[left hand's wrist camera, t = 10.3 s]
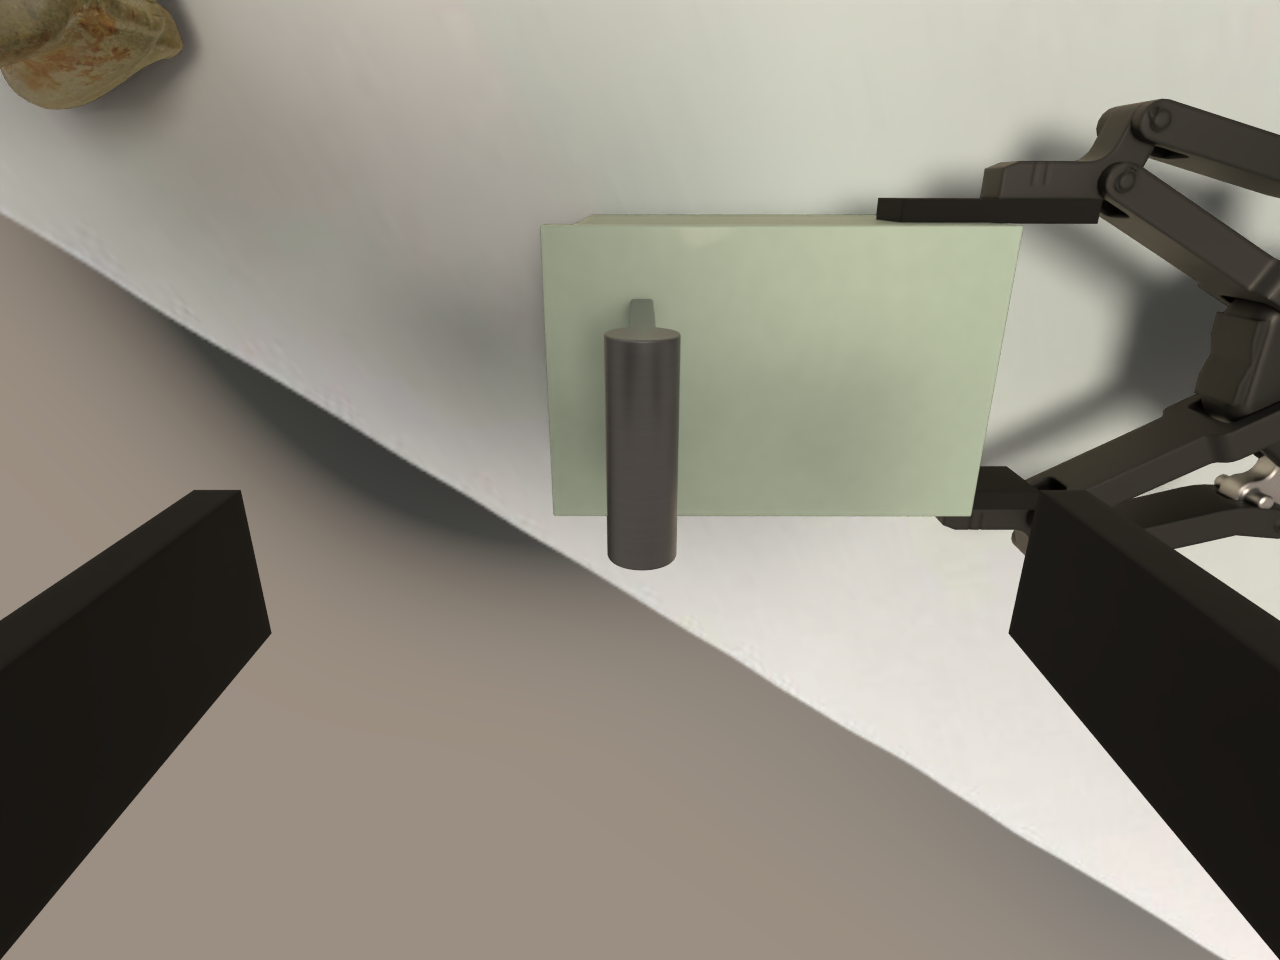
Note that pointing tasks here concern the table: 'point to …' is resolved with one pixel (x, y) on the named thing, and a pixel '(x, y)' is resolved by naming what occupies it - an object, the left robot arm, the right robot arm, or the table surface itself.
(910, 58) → the table surface
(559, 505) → the lid
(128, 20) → the sculpture
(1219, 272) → the right robot arm
